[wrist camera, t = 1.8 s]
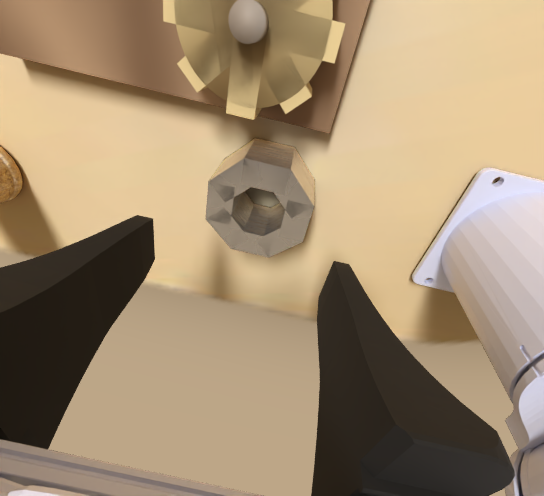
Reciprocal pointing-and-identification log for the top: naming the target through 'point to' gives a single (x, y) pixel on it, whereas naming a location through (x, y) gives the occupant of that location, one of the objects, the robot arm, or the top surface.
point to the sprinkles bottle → (9, 177)
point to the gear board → (152, 49)
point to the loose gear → (256, 218)
